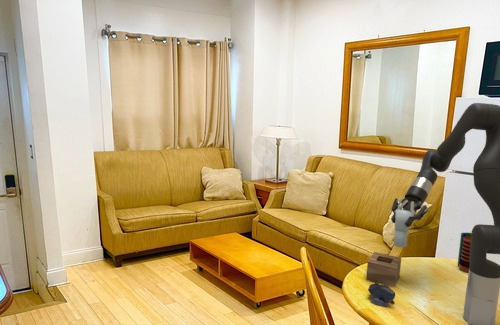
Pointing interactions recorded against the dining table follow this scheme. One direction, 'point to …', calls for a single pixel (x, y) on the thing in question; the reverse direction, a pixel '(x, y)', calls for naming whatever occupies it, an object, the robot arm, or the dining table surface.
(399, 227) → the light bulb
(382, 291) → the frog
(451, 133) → the robot arm
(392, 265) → the housing
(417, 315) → the dining table surface
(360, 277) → the dining table surface
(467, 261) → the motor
